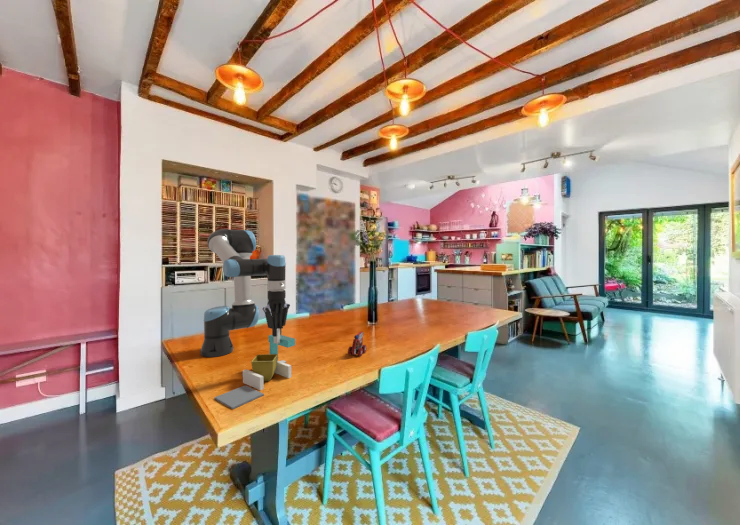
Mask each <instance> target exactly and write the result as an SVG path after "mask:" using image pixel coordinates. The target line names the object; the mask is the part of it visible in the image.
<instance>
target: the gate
mask: <svg viewBox="0 0 740 525" xmlns="http://www.w3.org/2000/svg"><path fill="white" fill-rule="evenodd" d="M268 343H269V354H279V350H278V349H279V348H278V346H281V347H284V348H287V349H288V348H292V347H295V346H296V338H294V337H291V336H288V335H287V336H286V335H283V334H281V335H280V343H279V344H275V343H274V336H272V334H269V335H268ZM278 358H279V357H278ZM278 358H277V361H279V359H278Z"/></svg>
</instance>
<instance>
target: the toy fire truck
mask: <svg viewBox="0 0 740 525" xmlns="http://www.w3.org/2000/svg"><path fill="white" fill-rule="evenodd" d="M363 337H364V332H363V331H359V332H358V333H357V334H355V335H354V339H353V341H352V345H351V346H349V347H348V349H347V353H348V355H350V356H351V355H353V356H355V355H357V356H359V357H362V356H363V354H366V352H367V345H366V344H363V343H364V342H363V340H364V338H363Z"/></svg>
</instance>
